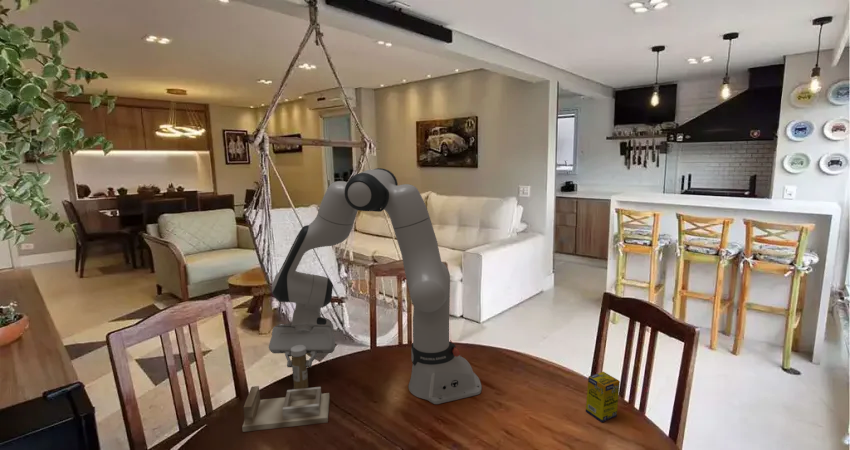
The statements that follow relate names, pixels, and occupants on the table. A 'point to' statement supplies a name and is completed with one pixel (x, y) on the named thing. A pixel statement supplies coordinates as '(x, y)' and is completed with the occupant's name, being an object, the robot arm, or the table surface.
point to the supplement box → (602, 396)
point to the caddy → (285, 409)
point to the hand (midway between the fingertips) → (299, 366)
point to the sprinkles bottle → (299, 367)
